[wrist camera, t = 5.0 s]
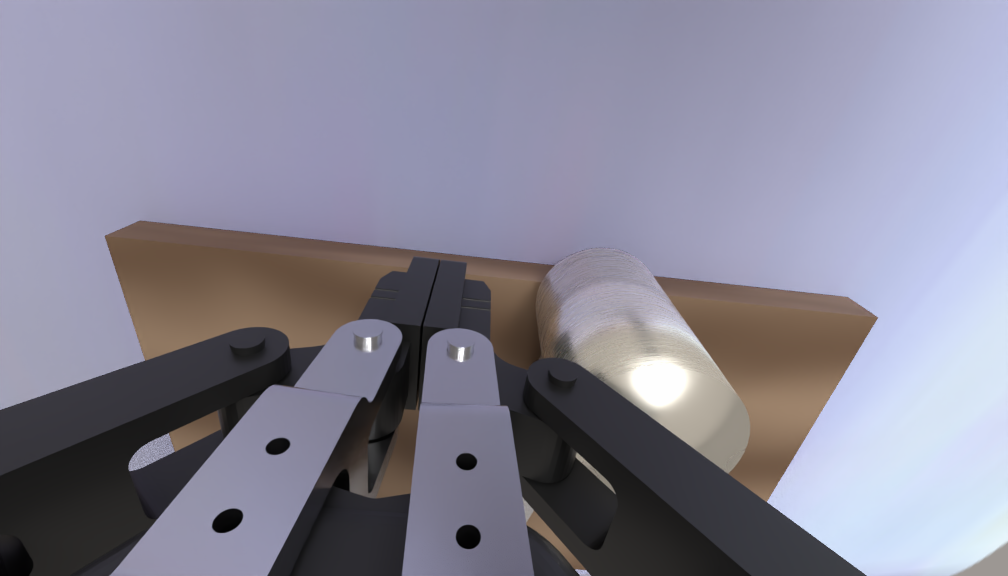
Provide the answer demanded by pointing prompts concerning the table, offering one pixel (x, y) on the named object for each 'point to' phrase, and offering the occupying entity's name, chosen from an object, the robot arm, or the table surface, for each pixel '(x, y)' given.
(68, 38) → the table surface
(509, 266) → the board
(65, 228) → the table surface
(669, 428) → the lever
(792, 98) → the table surface
